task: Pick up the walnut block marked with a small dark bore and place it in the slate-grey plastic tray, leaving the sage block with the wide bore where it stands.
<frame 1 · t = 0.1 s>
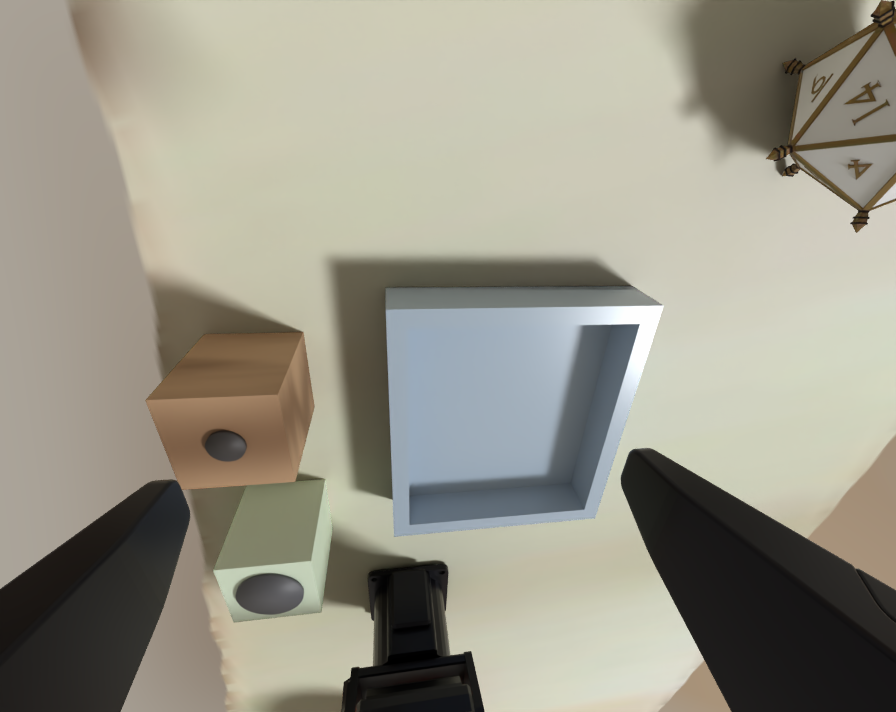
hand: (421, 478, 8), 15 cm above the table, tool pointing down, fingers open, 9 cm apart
game die: (808, 108, 20), on the table
sage block: (292, 507, 28), on the table
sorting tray: (499, 405, 26), on the table
walnut block: (263, 372, 23), on the table
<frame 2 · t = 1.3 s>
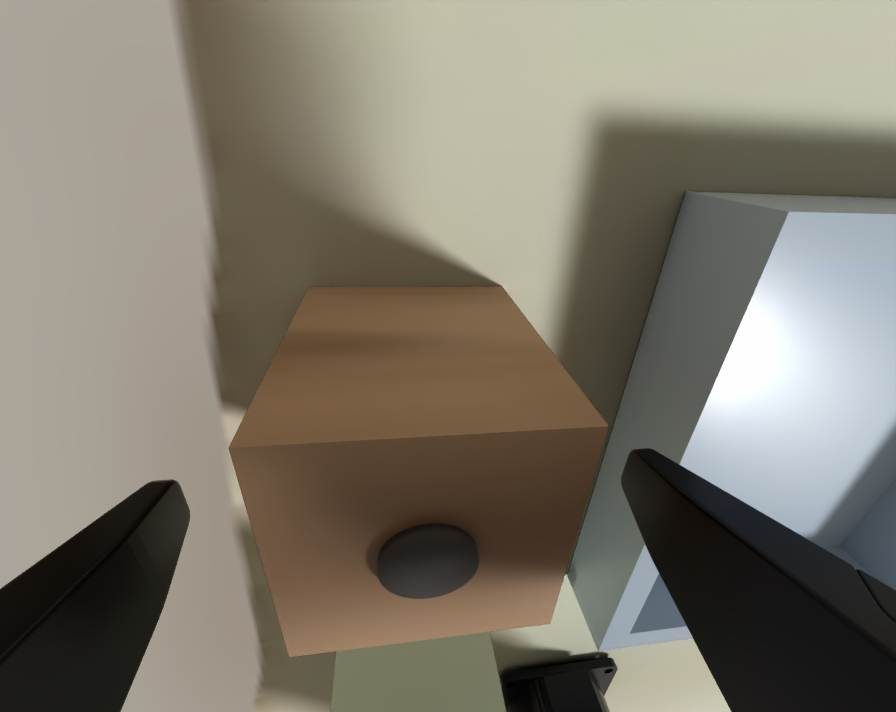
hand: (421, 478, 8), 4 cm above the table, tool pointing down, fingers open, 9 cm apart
sage block: (410, 591, 17), on the table
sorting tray: (784, 426, 15), on the table
walnut block: (408, 368, 12), on the table
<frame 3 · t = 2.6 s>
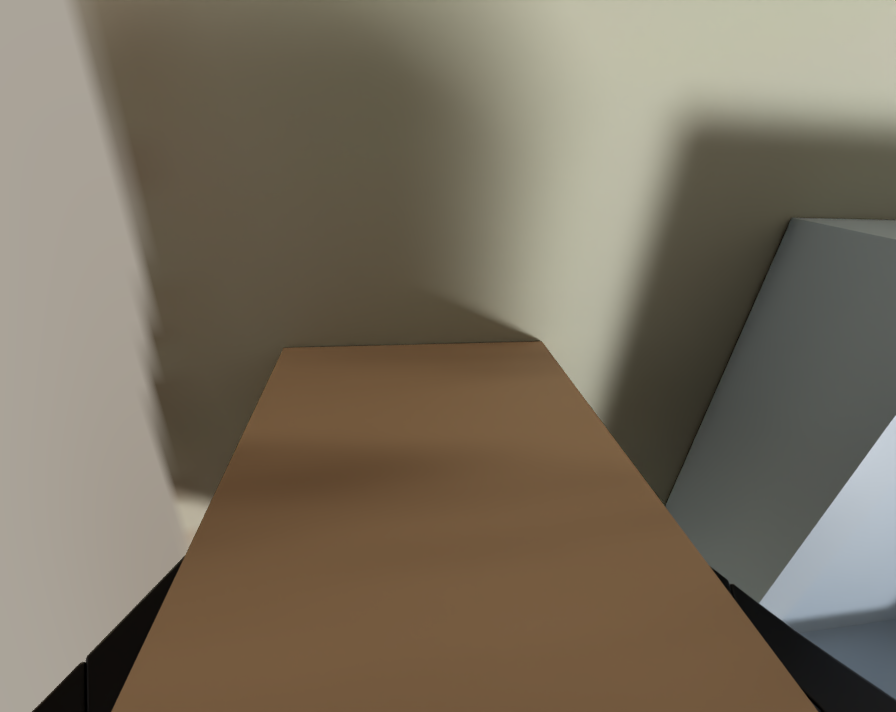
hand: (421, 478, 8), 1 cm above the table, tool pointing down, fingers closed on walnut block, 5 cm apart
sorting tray: (870, 492, 12), on the table
walnut block: (417, 443, 9), on the table, touching gripper
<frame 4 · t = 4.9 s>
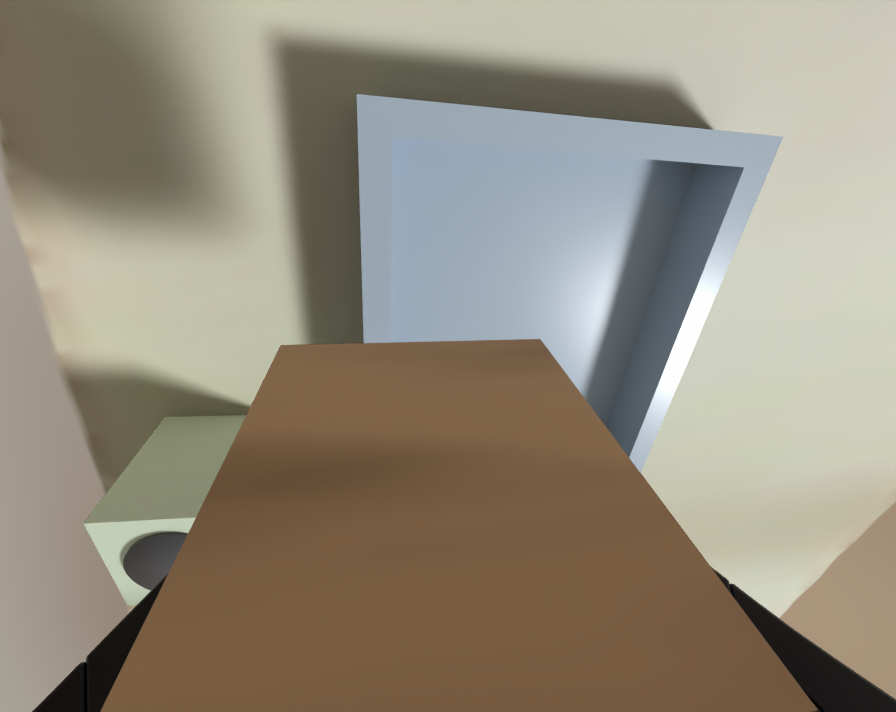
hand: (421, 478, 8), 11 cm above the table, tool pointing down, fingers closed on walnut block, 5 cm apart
sage block: (231, 453, 21), on the table
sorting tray: (518, 316, 19), on the table
walnut block: (415, 441, 9), point 10 cm above the table, touching gripper
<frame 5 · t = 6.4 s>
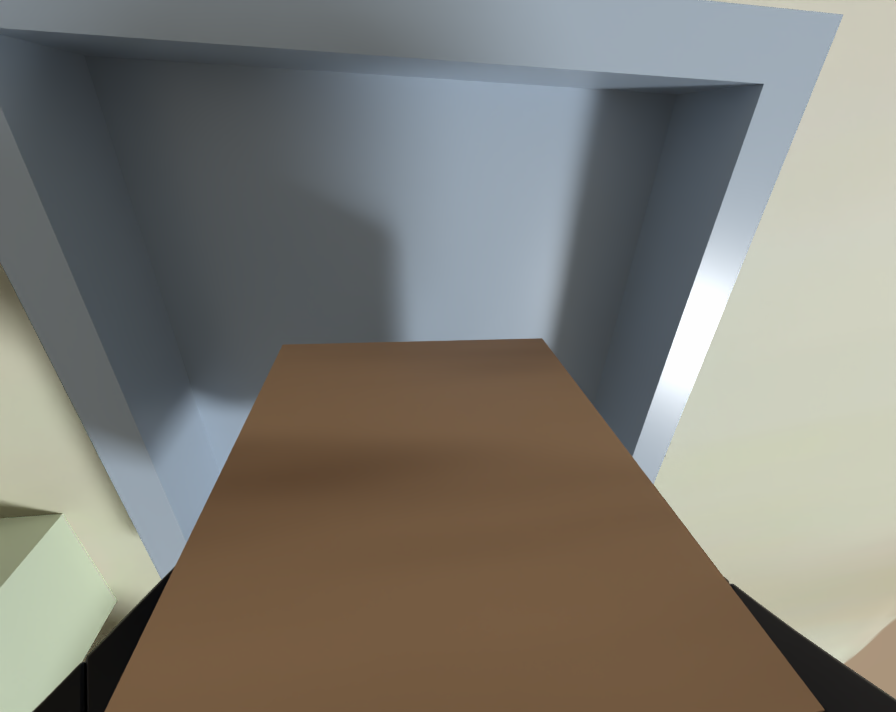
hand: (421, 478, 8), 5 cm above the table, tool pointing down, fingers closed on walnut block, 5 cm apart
sage block: (14, 566, 14), on the table
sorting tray: (410, 359, 12), on the table
walnut block: (417, 441, 9), point 4 cm above the table, touching gripper
when the fingers open (4 cm above the table, at t = 7.4 s): walnut block drops 2 cm, resting on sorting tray.
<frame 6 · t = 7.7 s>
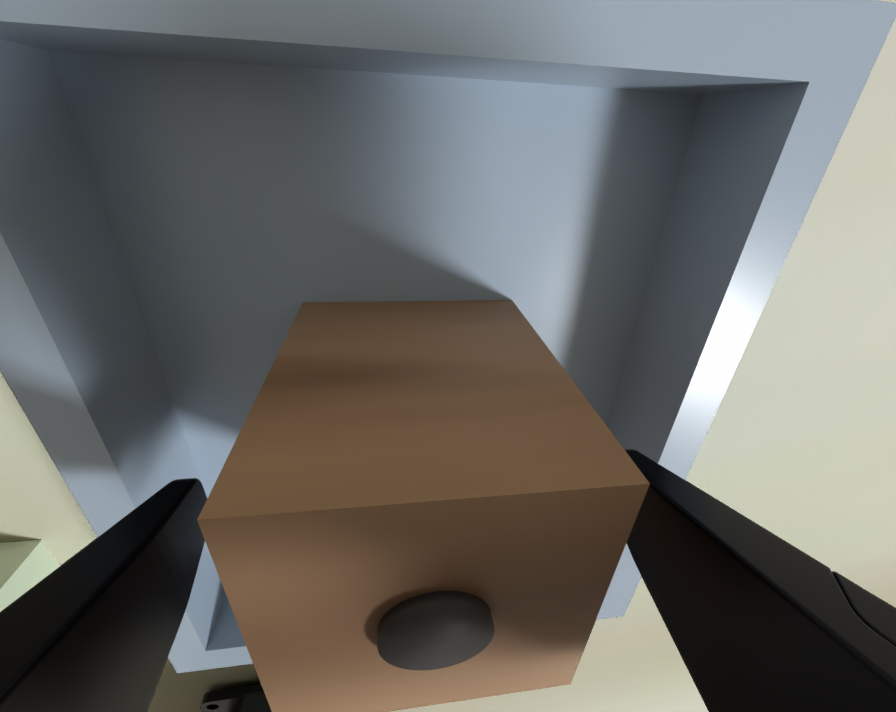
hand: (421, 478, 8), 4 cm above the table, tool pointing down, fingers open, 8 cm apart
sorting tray: (411, 377, 11), on the table
walnut block: (411, 388, 11), point 1 cm above the table, touching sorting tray
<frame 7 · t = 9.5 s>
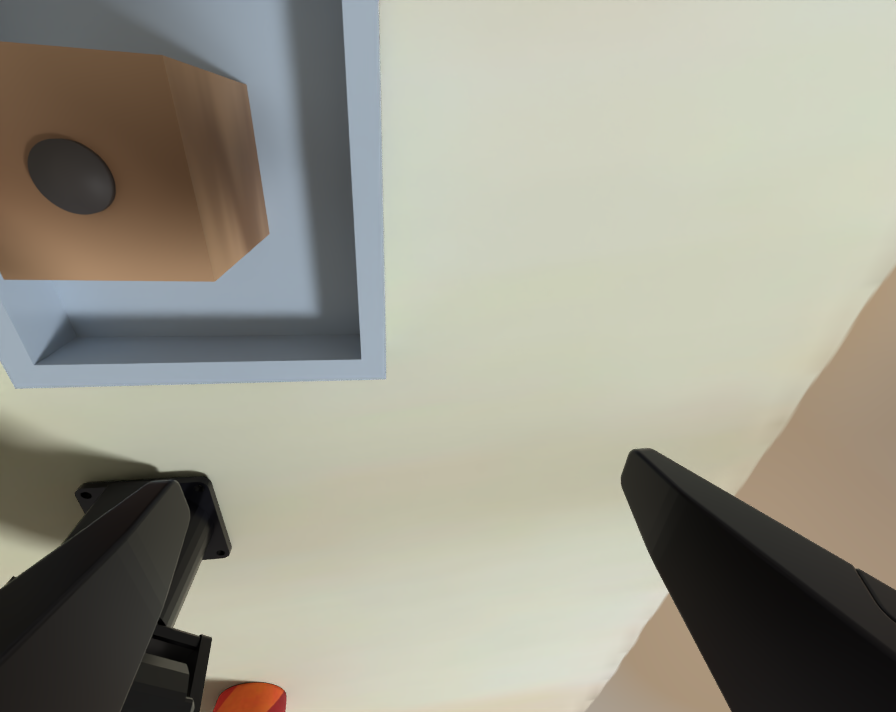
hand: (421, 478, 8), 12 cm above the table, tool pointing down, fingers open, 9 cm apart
paper cup: (252, 695, 35), on the table
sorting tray: (194, 161, 15), on the table
walnut block: (186, 161, 15), point 1 cm above the table, touching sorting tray
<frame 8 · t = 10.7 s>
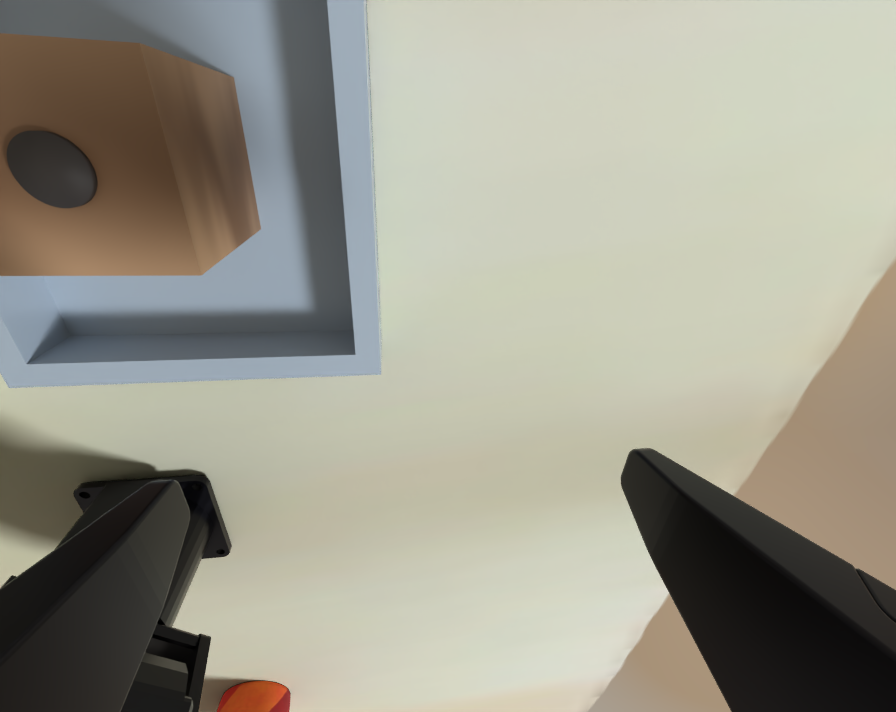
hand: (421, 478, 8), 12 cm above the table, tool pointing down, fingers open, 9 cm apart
paper cup: (256, 694, 35), on the table
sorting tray: (183, 156, 15), on the table
walnut block: (175, 156, 14), point 1 cm above the table, touching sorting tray
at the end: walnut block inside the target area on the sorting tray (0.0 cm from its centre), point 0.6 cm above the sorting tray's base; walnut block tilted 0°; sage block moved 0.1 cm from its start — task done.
